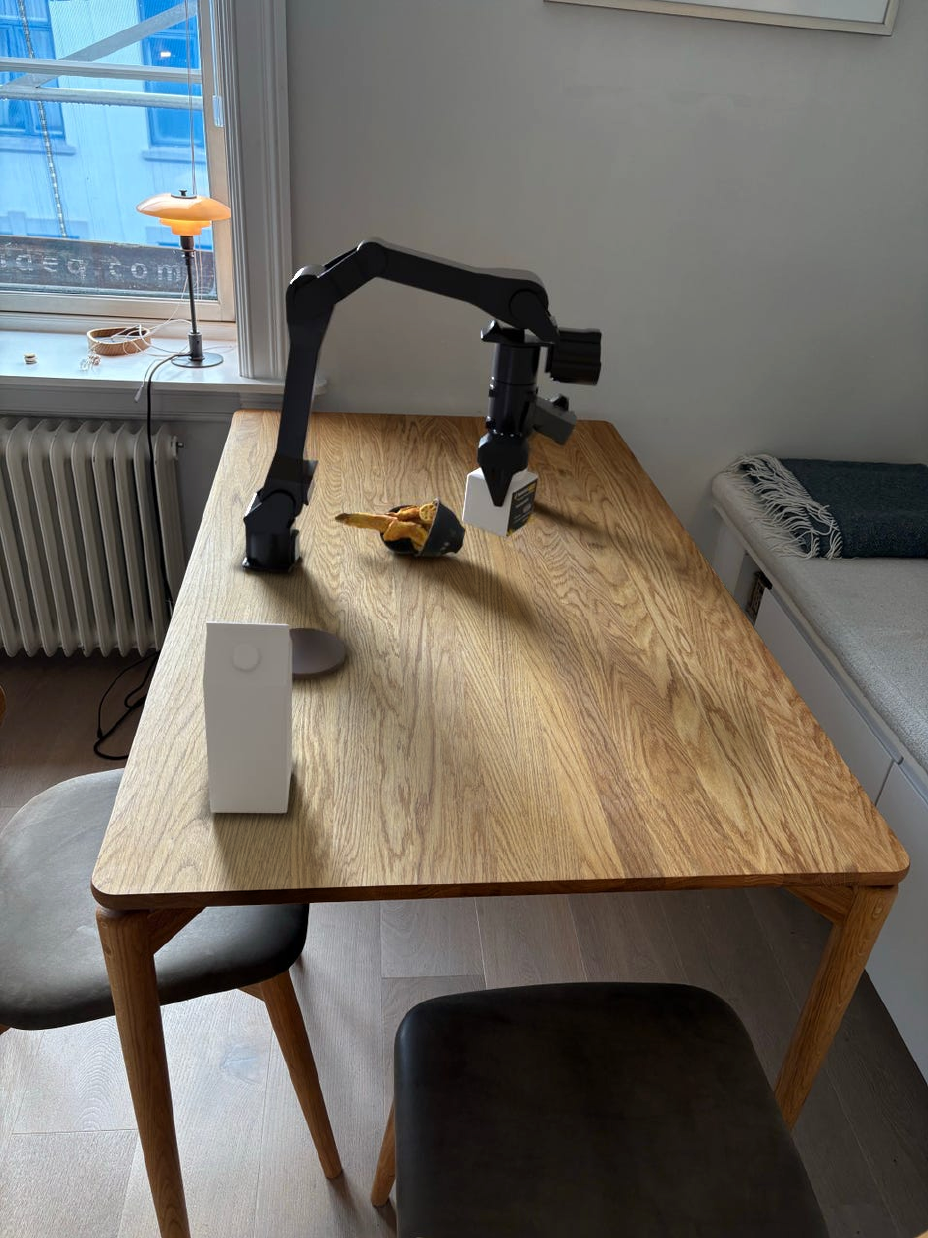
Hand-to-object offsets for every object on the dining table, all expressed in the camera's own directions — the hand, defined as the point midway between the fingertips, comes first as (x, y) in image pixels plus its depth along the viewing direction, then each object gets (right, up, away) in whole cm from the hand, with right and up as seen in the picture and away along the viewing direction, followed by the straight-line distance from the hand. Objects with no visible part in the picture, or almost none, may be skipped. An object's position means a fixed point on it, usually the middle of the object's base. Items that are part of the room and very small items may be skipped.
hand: (501, 492), depth 127 cm
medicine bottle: (-1, -4, +2) cm, 5 cm away
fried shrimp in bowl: (-14, -7, +12) cm, 20 cm away
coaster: (-24, -21, -14) cm, 35 cm away
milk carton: (-26, -34, -35) cm, 55 cm away
